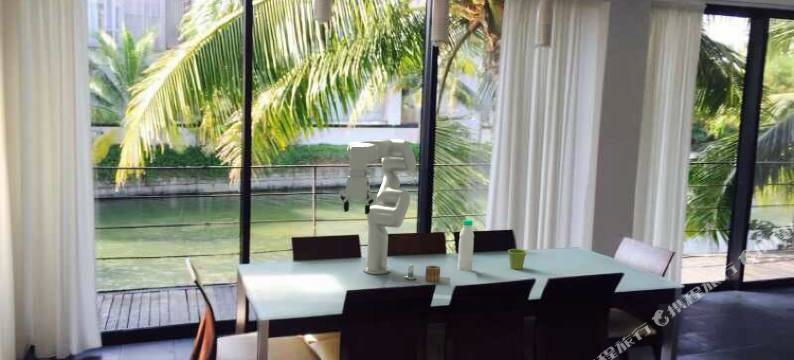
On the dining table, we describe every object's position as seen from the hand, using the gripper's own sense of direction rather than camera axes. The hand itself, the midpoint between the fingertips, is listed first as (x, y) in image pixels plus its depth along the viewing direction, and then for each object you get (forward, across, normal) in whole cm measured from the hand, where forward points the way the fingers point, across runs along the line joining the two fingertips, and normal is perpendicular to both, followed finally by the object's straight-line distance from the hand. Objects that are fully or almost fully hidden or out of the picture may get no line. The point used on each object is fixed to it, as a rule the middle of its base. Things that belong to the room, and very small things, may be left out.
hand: (356, 212), depth 289 cm
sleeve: (+31, -30, -18) cm, 47 cm away
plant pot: (+33, -60, -65) cm, 94 cm away
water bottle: (+33, -38, -47) cm, 69 cm away
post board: (+32, -26, -17) cm, 45 cm away
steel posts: (+31, -25, -17) cm, 43 cm away
